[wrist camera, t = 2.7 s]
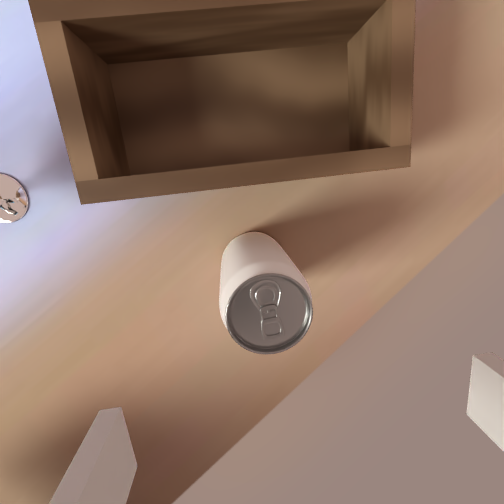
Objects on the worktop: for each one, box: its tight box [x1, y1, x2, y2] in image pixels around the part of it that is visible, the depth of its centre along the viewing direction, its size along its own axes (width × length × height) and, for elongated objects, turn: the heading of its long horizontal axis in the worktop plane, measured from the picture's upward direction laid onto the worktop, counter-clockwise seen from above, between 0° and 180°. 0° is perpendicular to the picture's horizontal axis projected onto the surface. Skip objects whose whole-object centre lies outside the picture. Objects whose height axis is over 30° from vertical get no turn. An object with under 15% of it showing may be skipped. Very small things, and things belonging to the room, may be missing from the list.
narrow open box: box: [28, 0, 416, 205], centre depth 23 cm, size 12×23×8 cm, turn 96°
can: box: [219, 232, 313, 354], centre depth 24 cm, size 6×6×12 cm
